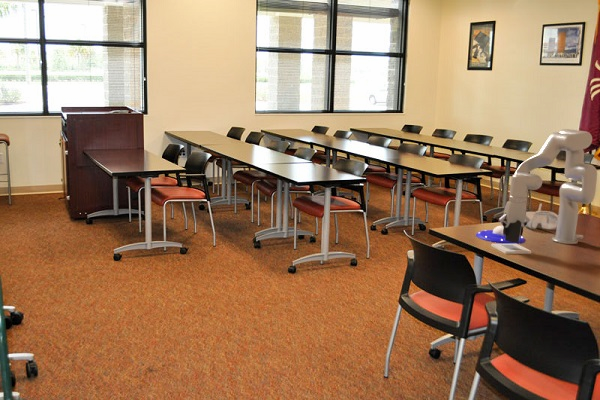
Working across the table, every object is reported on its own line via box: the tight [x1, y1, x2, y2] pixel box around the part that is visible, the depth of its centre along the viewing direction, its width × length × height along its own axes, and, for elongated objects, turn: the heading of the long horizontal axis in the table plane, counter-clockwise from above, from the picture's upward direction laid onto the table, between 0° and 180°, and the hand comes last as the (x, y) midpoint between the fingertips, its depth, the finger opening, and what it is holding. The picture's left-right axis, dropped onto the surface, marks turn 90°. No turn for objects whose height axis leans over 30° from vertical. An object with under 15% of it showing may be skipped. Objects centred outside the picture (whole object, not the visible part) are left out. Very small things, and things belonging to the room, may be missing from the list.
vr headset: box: [525, 202, 558, 231], centre depth 370 cm, size 18×11×14 cm, turn 99°
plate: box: [490, 243, 532, 255], centre depth 321 cm, size 14×14×1 cm
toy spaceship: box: [475, 225, 526, 245], centre depth 344 cm, size 25×25×7 cm
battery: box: [505, 220, 522, 243], centre depth 319 cm, size 7×4×11 cm, turn 64°
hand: (512, 234), depth 319 cm, fingers closed on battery, 7 cm apart
